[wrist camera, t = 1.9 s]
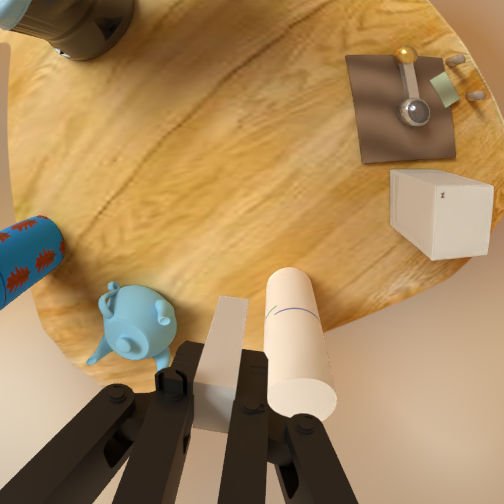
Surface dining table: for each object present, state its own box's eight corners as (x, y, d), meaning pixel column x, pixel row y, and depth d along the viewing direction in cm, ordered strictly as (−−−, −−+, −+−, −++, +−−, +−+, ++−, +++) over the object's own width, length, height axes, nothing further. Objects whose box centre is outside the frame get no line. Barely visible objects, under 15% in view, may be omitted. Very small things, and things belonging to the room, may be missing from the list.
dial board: (344, 55, 38) (351, 48, 35) (465, 60, 36) (478, 56, 32) (361, 163, 44) (369, 165, 40) (478, 156, 41) (491, 158, 38)
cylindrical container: (318, 296, 51) (346, 413, 28) (278, 314, 53) (280, 435, 29) (300, 259, 49) (321, 366, 26) (258, 279, 51) (246, 393, 27)
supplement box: (388, 227, 47) (429, 263, 33) (388, 168, 44) (434, 183, 30) (438, 224, 46) (488, 257, 32) (439, 169, 43) (495, 184, 29)
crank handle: (422, 126, 40) (433, 125, 36) (398, 126, 40) (408, 126, 37) (409, 51, 36) (419, 45, 32) (385, 50, 36) (394, 44, 33)
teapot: (110, 266, 52) (80, 292, 42) (192, 288, 52) (176, 321, 42) (109, 333, 57) (85, 365, 47) (182, 356, 57) (167, 393, 47)
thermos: (65, 219, 49) (-38, 276, 26) (66, 275, 53) (-20, 348, 30) (23, 210, 49) (-76, 257, 26) (25, 262, 53) (-60, 322, 29)
